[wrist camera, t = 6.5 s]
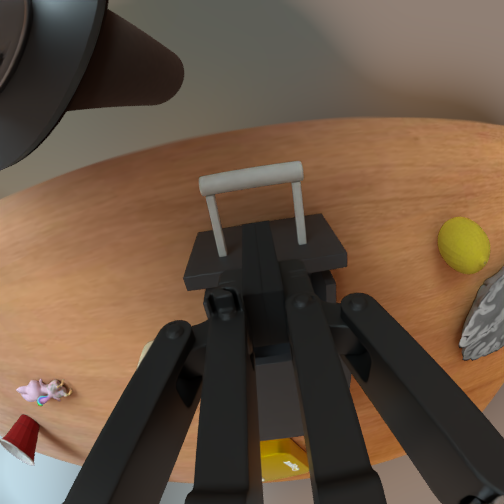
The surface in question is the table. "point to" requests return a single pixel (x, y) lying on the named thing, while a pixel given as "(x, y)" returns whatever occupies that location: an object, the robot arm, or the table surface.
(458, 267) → the lemon
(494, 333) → the brain slice
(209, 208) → the drawer
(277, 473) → the element tile
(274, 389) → the cabinet
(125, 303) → the table surface
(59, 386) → the pink horned figurine
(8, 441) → the plastic cup
